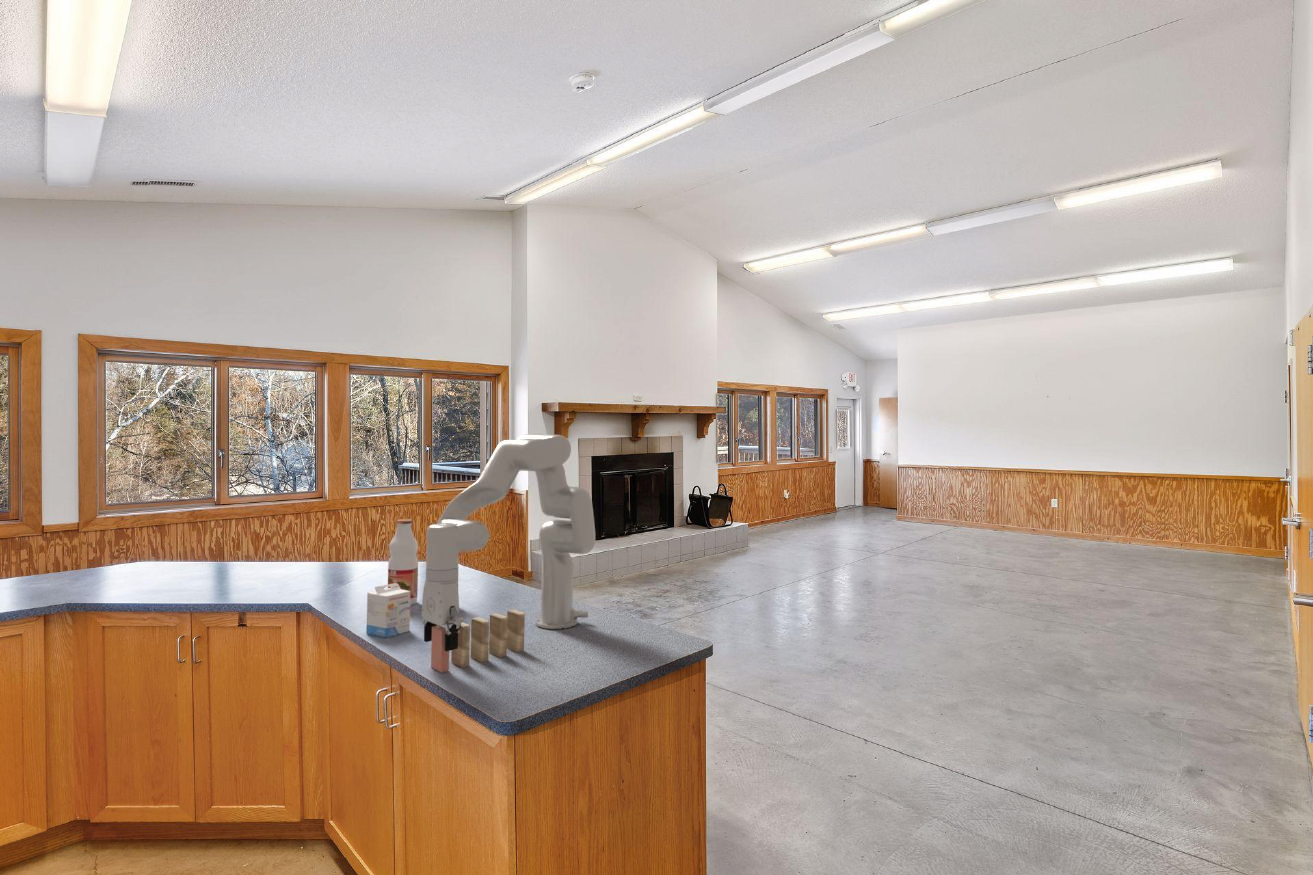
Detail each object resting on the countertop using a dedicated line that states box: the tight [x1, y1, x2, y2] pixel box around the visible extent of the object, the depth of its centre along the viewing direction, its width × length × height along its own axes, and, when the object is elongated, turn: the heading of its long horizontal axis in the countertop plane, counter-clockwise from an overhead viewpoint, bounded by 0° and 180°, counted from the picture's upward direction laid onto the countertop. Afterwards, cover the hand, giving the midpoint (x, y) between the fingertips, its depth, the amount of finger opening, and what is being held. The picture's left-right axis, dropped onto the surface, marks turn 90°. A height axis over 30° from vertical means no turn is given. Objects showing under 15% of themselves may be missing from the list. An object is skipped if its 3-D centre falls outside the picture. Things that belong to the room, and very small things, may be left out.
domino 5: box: [506, 609, 526, 653], centre depth 180 cm, size 2×5×10 cm, turn 47°
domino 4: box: [488, 613, 508, 658], centre depth 176 cm, size 2×5×10 cm, turn 47°
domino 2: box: [450, 621, 471, 668], centre depth 168 cm, size 2×5×10 cm, turn 47°
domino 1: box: [430, 625, 450, 673], centre depth 164 cm, size 2×5×10 cm, turn 46°
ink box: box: [365, 583, 411, 639], centre depth 193 cm, size 9×8×13 cm
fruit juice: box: [387, 518, 419, 606], centre depth 225 cm, size 9×9×28 cm
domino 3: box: [470, 616, 490, 663], centre depth 172 cm, size 2×5×10 cm, turn 47°
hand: (440, 645), depth 164 cm, fingers open, 9 cm apart
